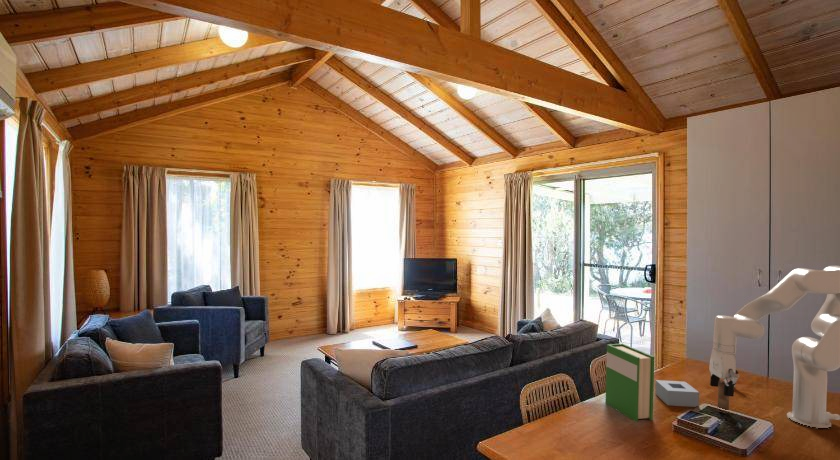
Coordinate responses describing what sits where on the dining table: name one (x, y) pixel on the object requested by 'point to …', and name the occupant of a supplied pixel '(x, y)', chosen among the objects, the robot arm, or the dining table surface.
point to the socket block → (677, 393)
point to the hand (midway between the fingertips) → (721, 390)
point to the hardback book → (630, 381)
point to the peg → (722, 396)
